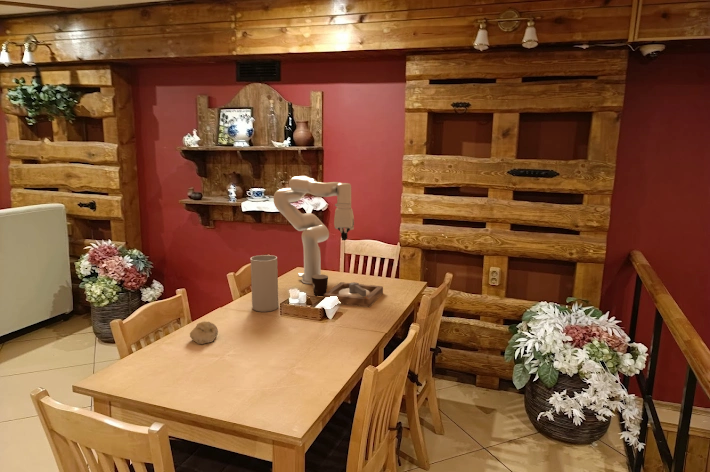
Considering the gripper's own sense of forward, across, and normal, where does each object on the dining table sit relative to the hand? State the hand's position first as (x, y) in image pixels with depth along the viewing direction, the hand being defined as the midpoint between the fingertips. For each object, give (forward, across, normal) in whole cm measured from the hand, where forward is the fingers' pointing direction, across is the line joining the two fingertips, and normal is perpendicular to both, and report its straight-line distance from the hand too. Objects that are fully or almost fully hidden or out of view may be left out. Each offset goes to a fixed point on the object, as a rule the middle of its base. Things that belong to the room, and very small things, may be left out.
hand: (344, 239), depth 273 cm
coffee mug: (+27, -8, -15) cm, 32 cm away
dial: (+25, +13, -17) cm, 33 cm away
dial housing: (+27, +11, -15) cm, 33 cm away
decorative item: (+27, -28, -88) cm, 96 cm away
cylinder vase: (+27, -24, -45) cm, 58 cm away
